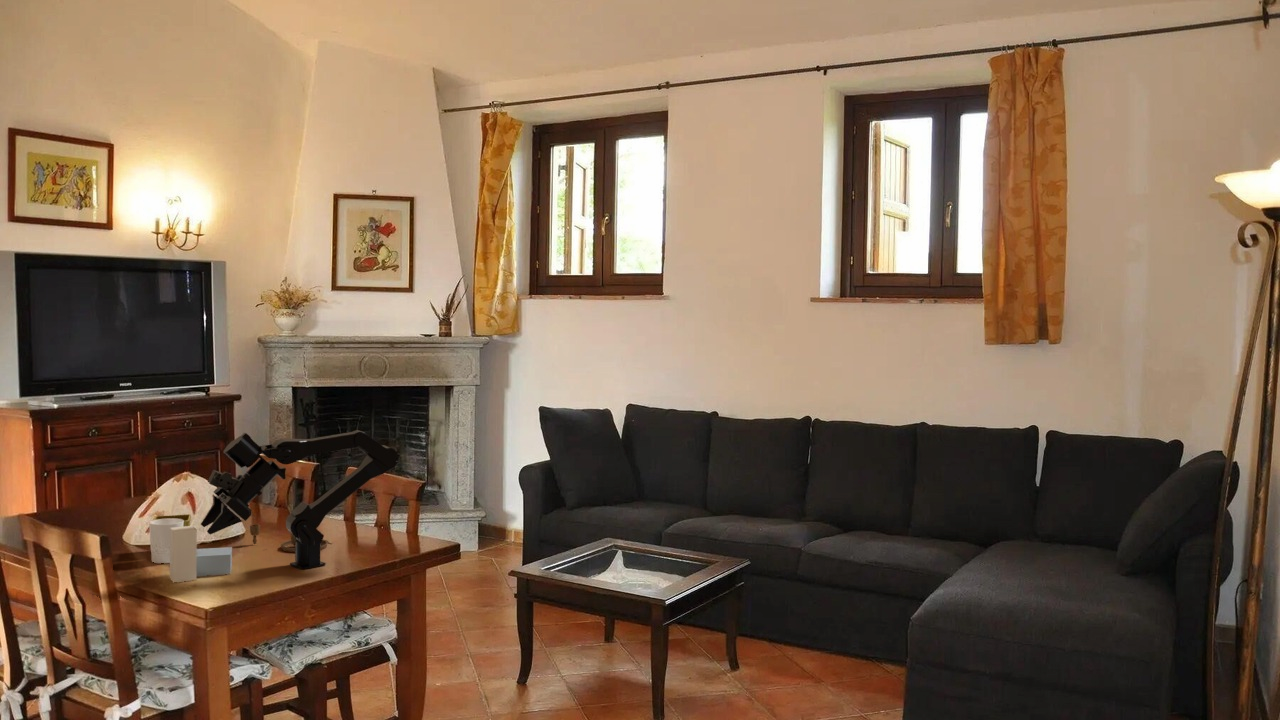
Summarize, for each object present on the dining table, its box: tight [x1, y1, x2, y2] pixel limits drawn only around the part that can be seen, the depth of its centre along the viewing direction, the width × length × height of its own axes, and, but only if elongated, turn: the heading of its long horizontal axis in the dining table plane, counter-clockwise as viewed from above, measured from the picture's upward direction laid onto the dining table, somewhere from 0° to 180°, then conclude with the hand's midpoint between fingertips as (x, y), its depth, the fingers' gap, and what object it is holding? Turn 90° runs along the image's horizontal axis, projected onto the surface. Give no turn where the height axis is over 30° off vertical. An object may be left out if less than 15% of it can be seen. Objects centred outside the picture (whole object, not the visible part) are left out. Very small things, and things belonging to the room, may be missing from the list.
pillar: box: [169, 525, 198, 584], centre depth 233 cm, size 5×5×12 cm
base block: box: [197, 546, 233, 577], centre depth 241 cm, size 8×8×5 cm
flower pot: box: [152, 513, 192, 527], centre depth 259 cm, size 9×9×9 cm
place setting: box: [249, 523, 333, 553], centre depth 270 cm, size 18×20×6 cm
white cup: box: [148, 518, 184, 564], centre depth 250 cm, size 8×8×10 cm
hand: (205, 529), depth 236 cm, fingers open, 9 cm apart
